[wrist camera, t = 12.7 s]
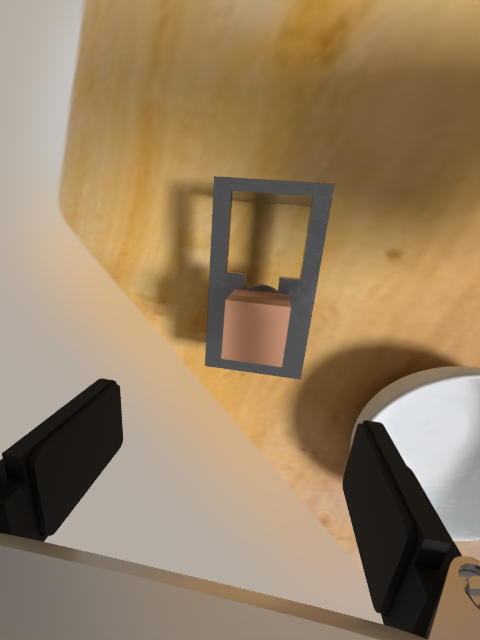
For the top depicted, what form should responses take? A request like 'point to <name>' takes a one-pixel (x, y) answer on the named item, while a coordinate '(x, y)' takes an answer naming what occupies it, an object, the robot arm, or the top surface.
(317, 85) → the top surface
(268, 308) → the keyhole peg
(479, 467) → the serving bowl
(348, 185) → the top surface
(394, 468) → the robot arm
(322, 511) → the top surface
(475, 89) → the top surface
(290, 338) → the keyhole bracket
